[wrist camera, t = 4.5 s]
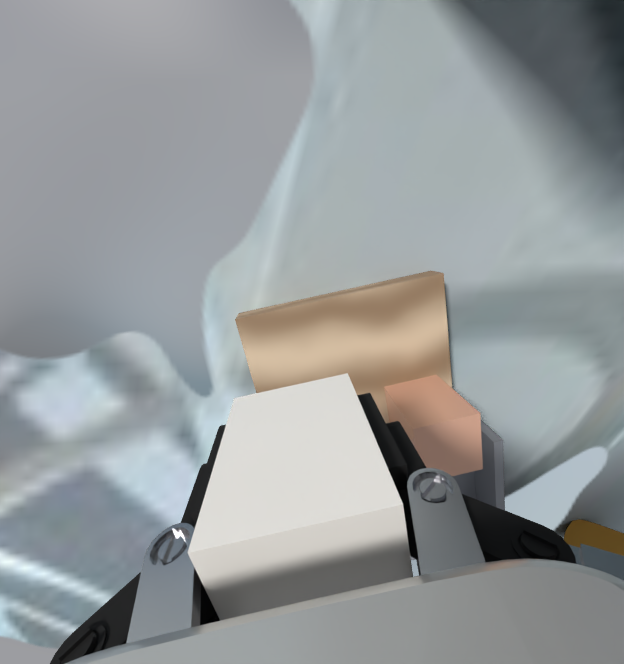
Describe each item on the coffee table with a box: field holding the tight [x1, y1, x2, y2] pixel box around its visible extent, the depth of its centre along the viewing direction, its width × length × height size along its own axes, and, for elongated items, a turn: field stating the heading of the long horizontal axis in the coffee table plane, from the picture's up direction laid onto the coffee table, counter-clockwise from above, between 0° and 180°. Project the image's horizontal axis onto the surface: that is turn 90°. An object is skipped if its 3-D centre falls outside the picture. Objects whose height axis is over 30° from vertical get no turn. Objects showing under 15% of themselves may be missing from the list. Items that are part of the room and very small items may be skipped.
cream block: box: [188, 373, 413, 621], centre depth 10 cm, size 4×4×6 cm
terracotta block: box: [384, 375, 483, 476], centre depth 23 cm, size 4×4×6 cm
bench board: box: [235, 271, 452, 423], centre depth 26 cm, size 14×16×2 cm
